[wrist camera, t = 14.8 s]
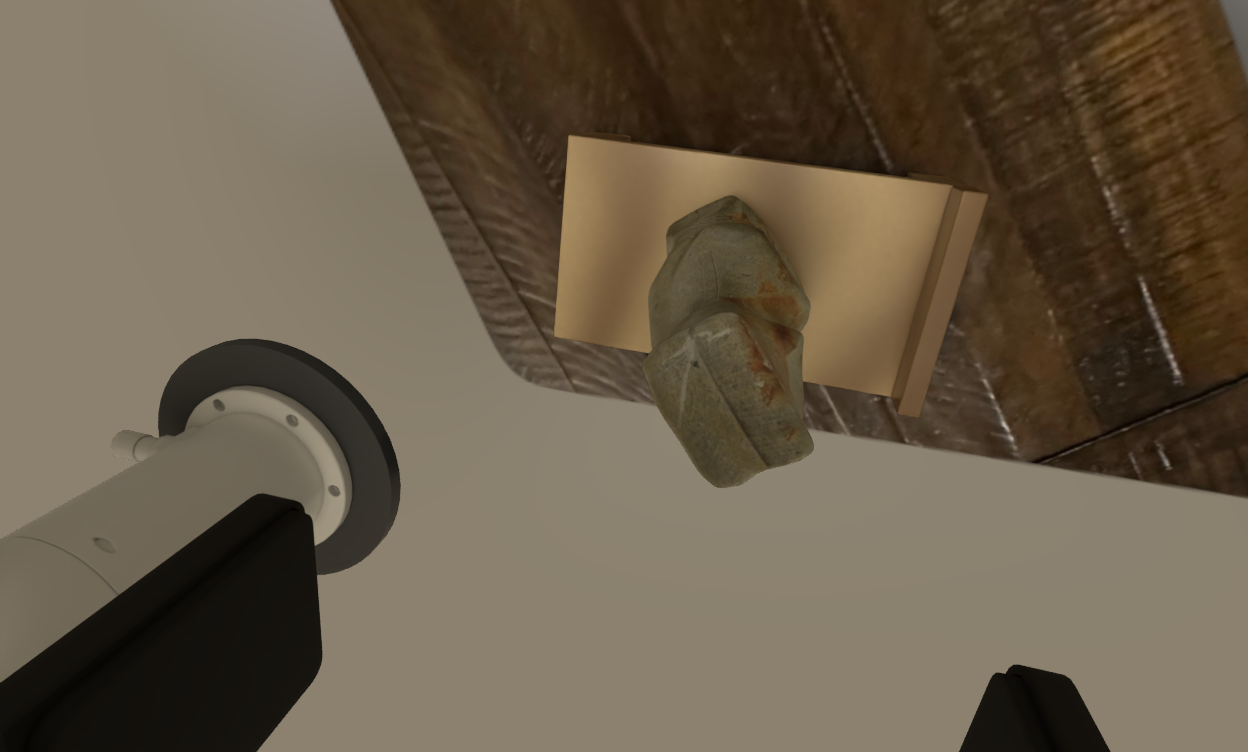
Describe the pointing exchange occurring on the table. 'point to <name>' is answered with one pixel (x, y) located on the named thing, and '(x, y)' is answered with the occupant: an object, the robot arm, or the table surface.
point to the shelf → (809, 236)
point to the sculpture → (729, 344)
